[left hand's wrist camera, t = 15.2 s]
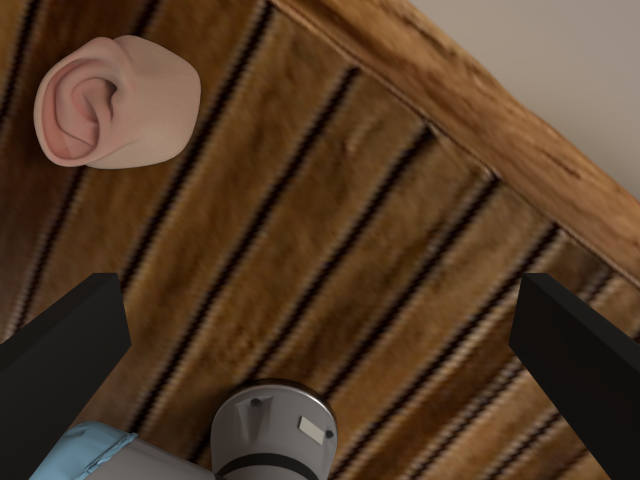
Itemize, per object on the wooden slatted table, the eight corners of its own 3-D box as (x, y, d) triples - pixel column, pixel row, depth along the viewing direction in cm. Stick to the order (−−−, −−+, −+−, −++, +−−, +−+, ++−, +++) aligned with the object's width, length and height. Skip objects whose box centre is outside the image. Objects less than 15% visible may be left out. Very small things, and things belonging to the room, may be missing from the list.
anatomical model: (183, 31, 29) (193, 181, 33) (198, 39, 33) (205, 173, 37) (5, 22, 29) (37, 174, 33) (41, 31, 33) (65, 166, 37)
